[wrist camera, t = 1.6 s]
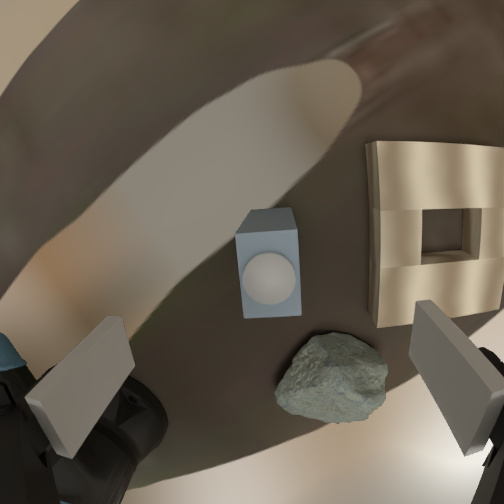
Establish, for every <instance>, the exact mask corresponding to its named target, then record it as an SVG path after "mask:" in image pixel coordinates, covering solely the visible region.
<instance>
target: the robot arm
mask: <svg viewBox="0 0 504 504" xmlns="http://www.w3.org/2000/svg"><path fill="white" fill-rule="evenodd" d="M409 356H410V358H411V360H412V362H413V363H414V365H415V367H416V368H417V370H418V372H419V373H420V375H421V377H422V379H423V380H424V382H425V383H426V385H427V387H428V389H429V391H430V393H431V394H432V396H433V398H434V399H435V401H436V403H437V405H438V407H439V409H440V410H441V412H442V414H443V416H444V418H445V419H446V422H447V423H448V425H449V427H450V429H451V431H452V433H453V435H454V437H455V439H456V440H457V442H458V444H459V446H460V448H461V450H462V452H463V454H464V456H467V455H470V454H473V453H476V452H479V451H482V450H483V449H484V447H485V445H486V443H487V441H488V439H489V438H490V439H491V441H492V443H493V447H492V449H491V451H490V453H489V454H488V456H487V458H486V460H485V462H484V463H483V465H482V466H485V465H486V466H485V468H484V471H483V474H482V477H481V480H480V482H479V485H478V488H477V490H476V493H475V495H474V497H473V500H472V502H471V504H504V363H503V362H501V361H500V359H499V358H498V357H497V356H496V355H495V354H494V353H493V352H492V351H489V350H488V349H486V348H484V347H481V348H477V347H476V346H475V345H474V344H473V343H472V341H471V340H470V339H469V338H468V337H467V336H466V335H465V334H464V333H463V332H462V331H461V330H460V329H459V328H458V327H457V326H456V325H455V324H454V322H453V321H452V320H451V319H450V318H449V317H448V316H447V315H446V314H445V313H444V312H443V311H442V310H441V309H440V308H439V307H438V306H437V305H436V304H435V303H434V302H433V301H432V300H431V299H430V300H422V301H416V302H415V311H414V320H413V328H412V335H411V342H410V349H409ZM26 364H27V362H26V361H25V360H23V359H22V358H21V356H20V355H19V354H18V352H17V351H16V349H15V348H14V346H13V345H12V343H11V342H10V341H9V339H8V338H7V337H6V336H5V335H4V334H2V333H0V504H121V501H122V499H123V497H124V494H125V492H126V490H127V488H128V485H129V483H130V481H131V478H132V476H133V474H134V472H135V469H136V467H137V465H138V464H139V463H140V462H141V461H142V460H143V459H144V458H145V457H146V456H147V455H148V454H149V453H150V452H151V451H152V450H154V449H155V448H156V447H158V446H159V444H160V443H161V442H162V440H163V437H164V435H165V433H166V430H167V426H168V422H167V417H166V414H165V411H164V409H163V407H162V406H161V404H160V403H159V401H158V400H157V399H156V397H155V396H154V395H153V394H152V393H151V392H150V391H149V390H148V389H146V388H145V387H144V386H143V385H141V384H140V383H138V382H137V381H135V380H134V379H132V378H130V377H128V375H129V374H130V372H131V371H132V369H133V368H134V367H135V363H134V360H133V356H132V353H131V349H130V345H129V342H128V338H127V334H126V331H125V327H124V323H123V319H122V316H109V315H108V316H107V317H106V318H105V319H104V320H103V321H102V322H101V323H100V324H99V325H98V326H96V327H95V328H94V329H93V330H92V331H91V332H90V333H89V334H88V335H87V336H86V337H85V338H84V339H83V340H82V341H81V342H80V343H79V344H77V345H76V346H75V347H74V348H73V349H72V350H71V351H70V352H69V353H68V354H67V355H66V356H65V357H64V358H63V359H62V360H61V361H60V362H59V363H58V364H56V365H55V366H53V367H51V368H50V369H48V370H47V371H46V372H45V373H44V374H43V375H42V377H40V378H39V379H38V380H36V379H35V378H34V376H33V375H32V373H31V372H30V370H29V369H28V367H27V366H26Z"/></svg>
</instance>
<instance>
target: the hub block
mask: <svg viewBox="0 0 504 504" xmlns="http://www.w3.org/2000/svg"><path fill="white" fill-rule="evenodd" d="M365 148H366V161H367V176H368V196H369V234H370V262H369V300H368V312H369V314H370V316H371V318H372V320H373V321H374V323H375V325H376V327H377V328H382V327H390V326H398V325H406V324H413V320H414V311H415V302H416V301H422V300H430V299H431V300H432V301H433V302H434V303H435V304H436V305H437V306H438V307H439V308H440V309H441V310H442V311H443V312H444V313H445V314H446V315H447V316H448V317H449V318H453V317H459V316H465V315H470V314H476V313H481V312H487V311H492V310H497V309H499V306H500V301H501V295H502V289H503V282H504V148H500V147H490V146H480V145H468V144H454V143H436V142H410V141H375V142H371V143H367V144H365ZM451 208H463V231H462V249H461V250H454V251H442V252H429V253H421V244H422V209H451Z"/></svg>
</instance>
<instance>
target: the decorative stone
mask: <svg viewBox="0 0 504 504" xmlns="http://www.w3.org/2000/svg"><path fill="white" fill-rule="evenodd" d="M387 374H388V367H387V364H386V363H385V361H384V358H383V357H382V356H381V355H380V354H379V352H378V351H376V350H375V349H373V348H371V347H369V346H368V345H367V344H366V343H364V342H362V341H360V340H358V339H356V338H354V337H353V336H351V335H350V334H340V333H335V332H332V333H330V334H326V335H316V336H314V337H312V338H310V340H309V341H308V343H307V344H306V345H304V346H303V347H302V348H301V349H300V350H299V351H298V353H297V354H296V355H295V356H294V358H293V361H292V365H291V366H290V367H289V368H288V370H287V372H286V373H285V375H284V377H283V379H282V380H281V381H280V382H279V384H278V386H277V388H276V389H275V393H274V394H275V395H276V400H277V401H276V402H277V404H278V405H280V406H281V407H282V408H283V409H284V410H286V411H288V412H289V413H291V414H293V415H302V416H304V417H307V418H312V419H318V420H321V421H324V422H325V423H326V422H333V423H337V424H339V423H340V422H349V423H350V422H352V421H362V420H366V419H368V416H369V415H370V414H371V413H372V412H373V411H374V410H376V409H378V407H379V406H381V405H382V404H383V402H384V401H385V399H386V392H385V389H384V386H385V383H384V382H385V377H386V376H387Z"/></svg>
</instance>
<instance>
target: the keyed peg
mask: <svg viewBox="0 0 504 504" xmlns="http://www.w3.org/2000/svg"><path fill="white" fill-rule="evenodd" d="M235 239H236V249H237V259H238V268H239V278H240V287H241V296H242V305H243V314H244V318H265V317H283V316H300V315H302V314H301V288H300V267H299V248H298V231H297V226H296V223H295V219H294V216H293V212H292V209H291V207H285V208H270V209H258V210H251V211H250V212H249V214H248V215H247V217H246V218H245V220H244V221H243V223H242V224H241V226H240V227H239V228H238V230H237V231H236V233H235Z"/></svg>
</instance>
